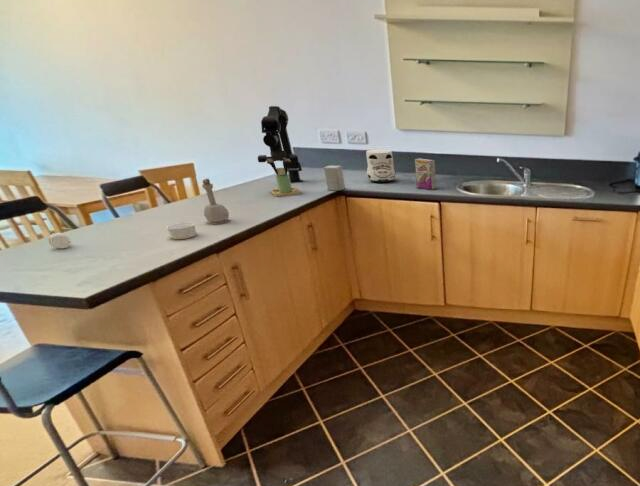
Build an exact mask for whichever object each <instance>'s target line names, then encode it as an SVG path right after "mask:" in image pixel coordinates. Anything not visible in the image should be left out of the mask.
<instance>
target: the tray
mask: <svg viewBox="0 0 640 486" xmlns="http://www.w3.org/2000/svg"><path fill="white" fill-rule="evenodd" d="M270 192H271V193H272V195H274V196H275V197H276V198H278V197H288V196H295V195H302V193H301V191H300V190H299V189H297V188H296V187H294V186H293V187H292V192H288V193H281V192H279V188H276V189H275V188H274V189H270Z"/></svg>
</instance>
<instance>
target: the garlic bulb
mask: <svg viewBox="0 0 640 486" xmlns="http://www.w3.org/2000/svg"><path fill="white" fill-rule="evenodd" d="M47 242H48V244H49V245H50V246H51V248H55V249H67V248H70V246H71V245H72V240H71V237H70V236H68V235H67V234H66V233H62V232H54V233H52V234H50V235H49V236H48V239H47Z"/></svg>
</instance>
